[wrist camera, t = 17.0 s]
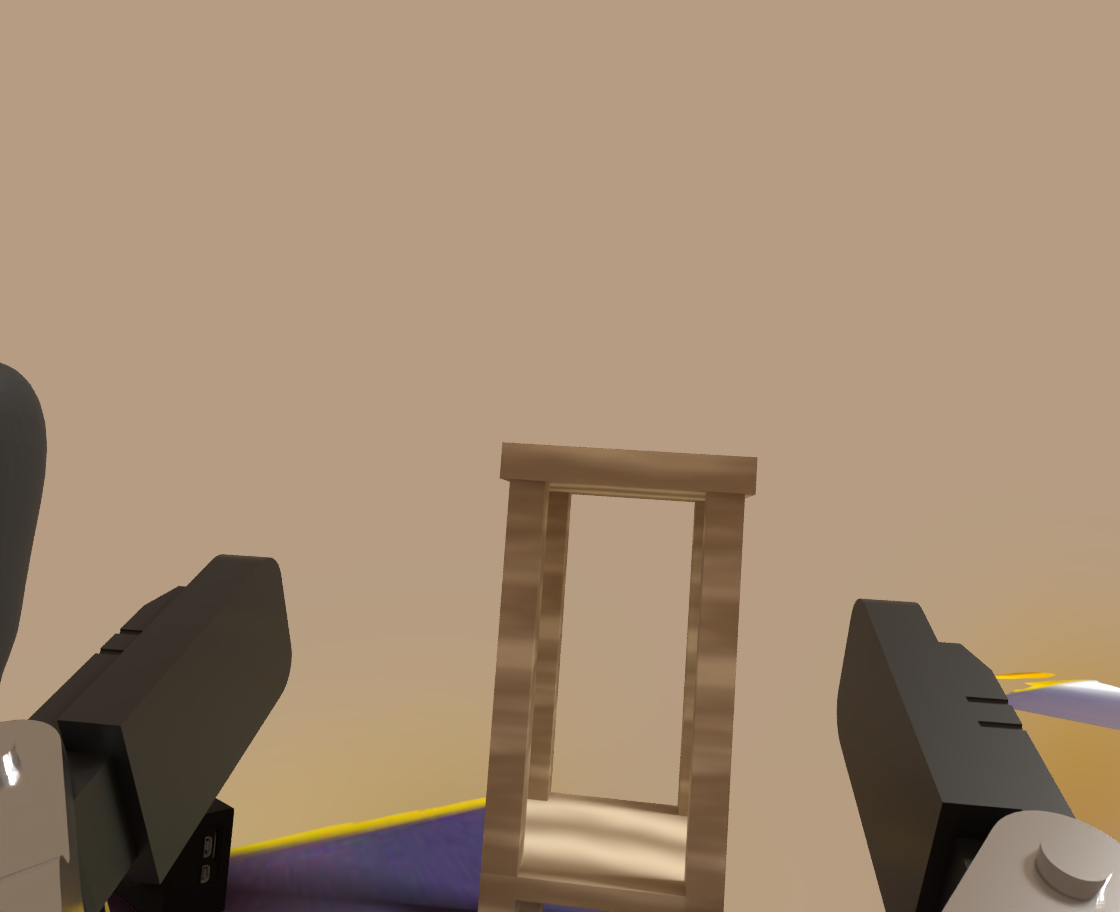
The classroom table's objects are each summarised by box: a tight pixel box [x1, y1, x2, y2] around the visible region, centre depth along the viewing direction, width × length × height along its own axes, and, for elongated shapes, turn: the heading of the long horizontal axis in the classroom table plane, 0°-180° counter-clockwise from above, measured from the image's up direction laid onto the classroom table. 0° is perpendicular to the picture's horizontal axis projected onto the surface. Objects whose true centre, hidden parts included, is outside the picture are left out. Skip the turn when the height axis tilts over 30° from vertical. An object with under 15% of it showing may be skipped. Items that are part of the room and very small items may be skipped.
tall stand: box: [478, 443, 757, 912], centre depth 53 cm, size 16×14×32 cm
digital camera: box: [114, 798, 234, 912], centre depth 59 cm, size 10×5×7 cm, turn 49°
